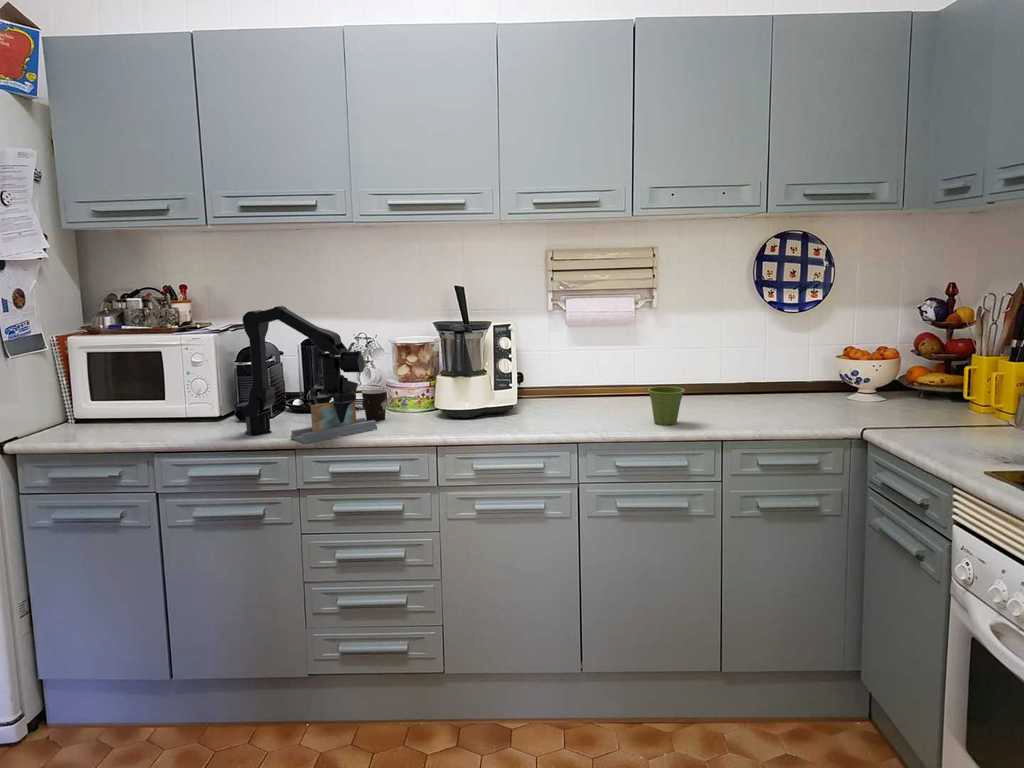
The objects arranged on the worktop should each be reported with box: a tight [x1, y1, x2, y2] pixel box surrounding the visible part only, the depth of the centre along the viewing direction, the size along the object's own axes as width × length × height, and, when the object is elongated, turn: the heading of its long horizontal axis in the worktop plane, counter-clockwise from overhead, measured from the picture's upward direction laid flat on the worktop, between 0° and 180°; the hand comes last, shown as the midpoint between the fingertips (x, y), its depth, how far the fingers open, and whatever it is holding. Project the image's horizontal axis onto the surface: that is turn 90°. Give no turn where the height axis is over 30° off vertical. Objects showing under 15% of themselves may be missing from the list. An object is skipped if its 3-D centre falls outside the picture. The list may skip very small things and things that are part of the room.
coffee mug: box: [361, 388, 388, 422], centre depth 267 cm, size 12×9×10 cm
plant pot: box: [647, 386, 686, 426], centre depth 252 cm, size 12×12×11 cm
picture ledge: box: [290, 417, 378, 444], centre depth 248 cm, size 26×9×3 cm, turn 134°
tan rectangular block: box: [310, 400, 357, 432], centre depth 247 cm, size 14×4×9 cm, turn 134°
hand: (334, 420), depth 247 cm, fingers open, 9 cm apart
